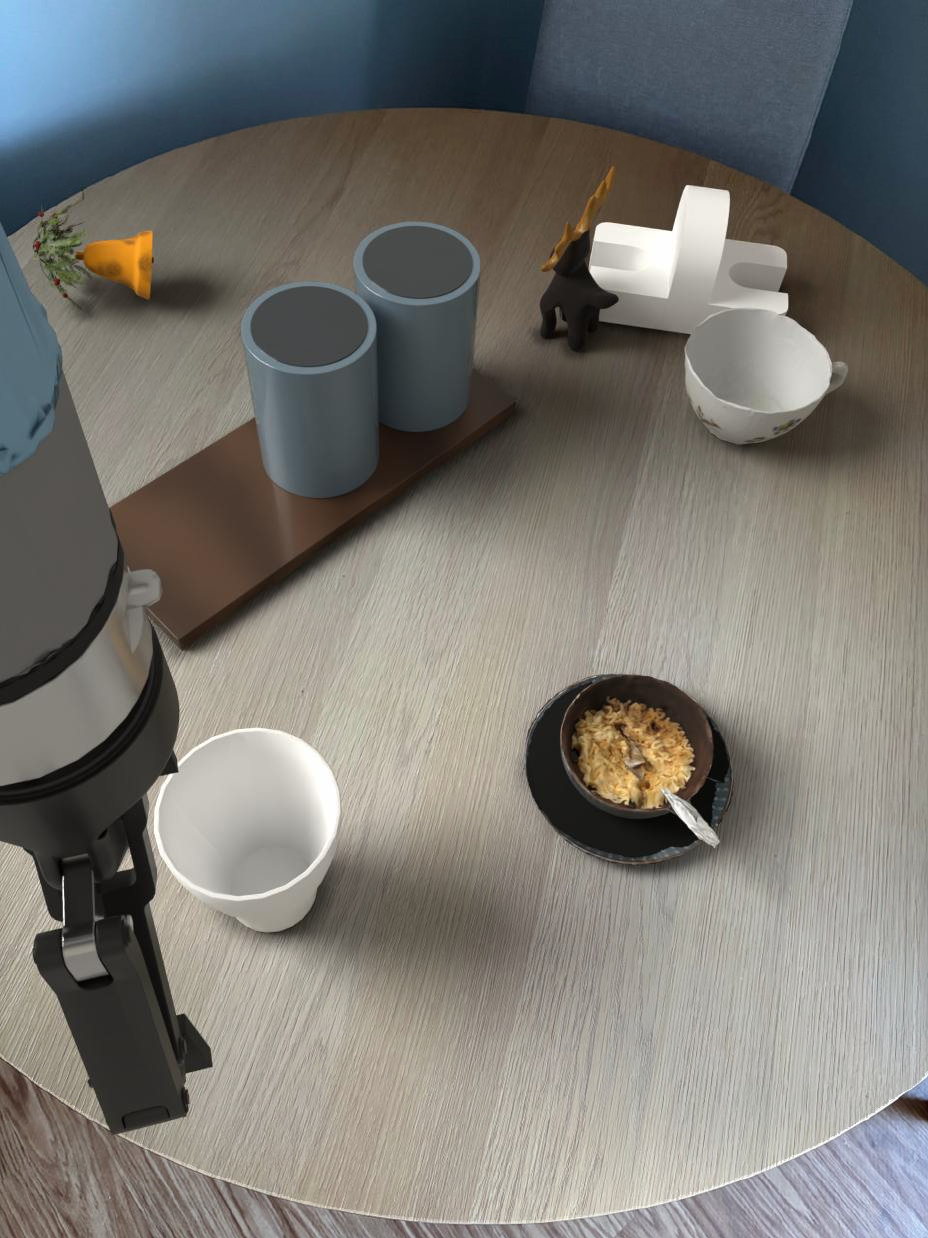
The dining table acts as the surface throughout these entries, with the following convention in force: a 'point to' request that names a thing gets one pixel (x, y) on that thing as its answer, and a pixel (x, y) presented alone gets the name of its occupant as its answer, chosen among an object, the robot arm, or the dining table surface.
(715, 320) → the teacup
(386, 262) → the slate cup
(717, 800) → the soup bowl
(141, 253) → the christmas decoration
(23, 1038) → the dining table surface
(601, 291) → the figurine
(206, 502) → the walnut board
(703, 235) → the bracket
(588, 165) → the dining table surface
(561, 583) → the dining table surface
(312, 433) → the slate cup
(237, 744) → the cup
